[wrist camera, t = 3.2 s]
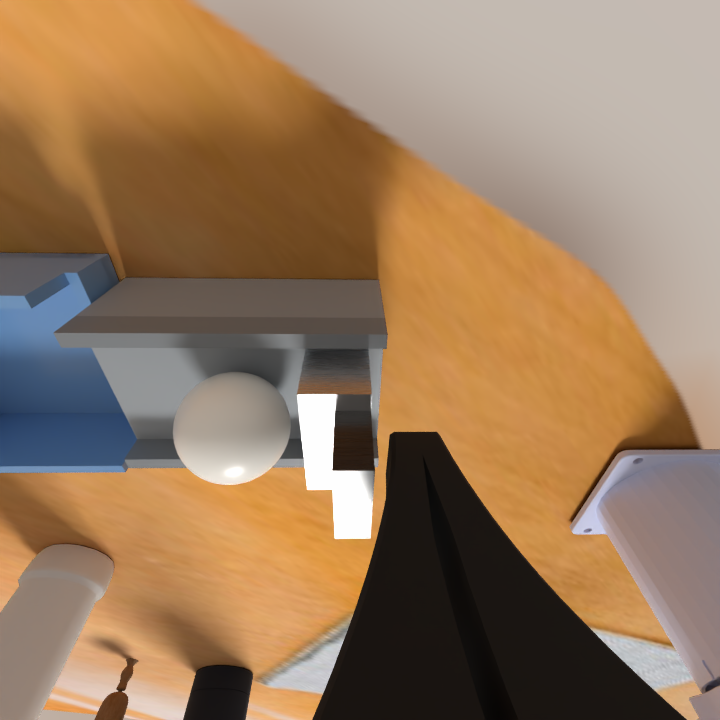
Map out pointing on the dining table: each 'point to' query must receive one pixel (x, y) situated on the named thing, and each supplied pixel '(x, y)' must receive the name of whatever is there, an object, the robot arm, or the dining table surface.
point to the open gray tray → (221, 345)
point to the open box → (55, 369)
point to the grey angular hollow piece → (339, 434)
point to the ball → (231, 428)
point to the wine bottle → (219, 694)
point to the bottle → (46, 624)
